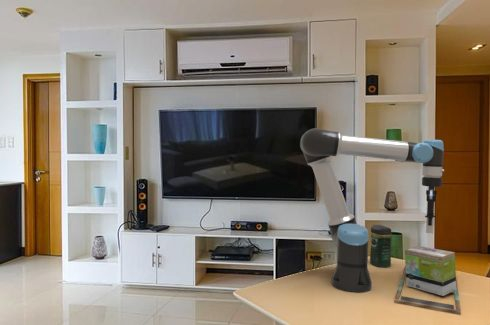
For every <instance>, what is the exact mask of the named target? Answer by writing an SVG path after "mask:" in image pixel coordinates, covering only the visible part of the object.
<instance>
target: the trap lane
mask: <svg viewBox="0 0 490 325" xmlns="http://www.w3.org/2000/svg"><path fill="white" fill-rule="evenodd" d="M405 279H406V265H404V267H403V270H402V274H401V277H400V279H399V283H398V286H397V288H396V293H395V296H394V299H393V303H395V304H400V305H405V306H410V307H411V306H412V307H415V308H416V307H417V308H421V309H427V310H432V311H438V312H444V313H448V314H455V315H461V316H462V310H461V304H460V293H459V288H458V282H457V281H458V280H457V278H456V290H455V291H453V293H454V295H453V296H454V302H455V304H449V303H444V302H438V301H432V300H428V299H427V300H426V299H420V298H415V297H409V296H404V295H403V296H402V295H401V293H402V290H403V287H404V283H405V281H406V280H405ZM400 296H401V297H400ZM454 305H455V306H454Z"/></svg>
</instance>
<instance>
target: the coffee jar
mask: <svg viewBox="0 0 490 325" xmlns="http://www.w3.org/2000/svg"><path fill="white" fill-rule="evenodd" d="M392 236H393V235H392V229H391V228H390V227H387V226H385V225H382V224H372V226H371V227H370V238H371V239H370V240H371V241H370V253H369V263H370V264H371V265H374V266H376V267H382V268H387V267H391V265H392V259H391V257H392V255H391V248H392V247H391V241H392Z"/></svg>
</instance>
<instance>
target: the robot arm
mask: <svg viewBox="0 0 490 325" xmlns="http://www.w3.org/2000/svg"><path fill="white" fill-rule="evenodd" d="M299 147H300V149H301V151H302V153H303V156H304V159H305V162H306V164H307V166H310V167H311V168H312V170H313V174H314V177H315V180H316V183H317V186H318V188H319V191H320V194H321V197H322V200H323V203H324V205H325V208H326V211H327V215H328V218H329V221H328V222H327V226H328V228H329V232H330V237H331V240H332V241H333V244H335V246H336V266H335V268H334V271H333V274H332V277H331V285H332V286H333V287H335V288H336V289H338V290H341V291H345V292H350V293H353V292H354V293H363V292H364V293H365V292H368V291H370V290H372V284H373V283H372V282H373V281H372V278H371V275H370V272H369V268H368V265H369V264H368V263H369V262H368V259H369V258H368V257H369V256H368V255H369V239H370V238H369V237H370V236H369V230H368V228H366V227H365V226H364V225H360V224H358V223H357V220H356V217H355V215H354V214H351V213H350V211H349V208H348V206H347V202H346V200H345V197H344V194H343V192H342V188H341V185H340V182H339V179H338V177H337V176H338V175H337V172H336V171H335V168H334V165H333V161H332V159H333V157H337V156H339V155H345V156H355V157H364V158H373V159H374V158H375V159H380V160H391V161H395V162H401V163H403V162H404V163H418V164H419V163H420V164H422V168H421V169H422V178H421V186H424V187H428V189H426V190H425V196H426V202H427V204H426V205H427V207H426V209H427V210H426V215H424V218H426V222H425V223H426V225H425V233H426V234H434V223H435V221H434V220H435V218H436V215H435V202H436V199H437V198H436V197H437V193H438V192H437V190H435V188H436V187H437V188H442V187H443V178H442V176H443V173H444V172H445V169H443V167H444V165H443V163H444V151H445V149H444V142H443V140H441V139H424V140H423V142H412V141H403V140H392V139H381V138H373V137H364V136H363V137H362V136H356V135H347V134H346V135H343V134H341V133H340V132H339V131H332V130H327V129H323V128H319V127H317V128H315V127H314V128H311V129H309V130H306V132H304V133H303V134H302V135H301V138H300V141H299Z"/></svg>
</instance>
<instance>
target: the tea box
mask: <svg viewBox="0 0 490 325" xmlns="http://www.w3.org/2000/svg"><path fill="white" fill-rule="evenodd" d="M404 255H405V256H404V258H405V259H404V260H405V265H406V276H405V279H406V280H405V281H406V282H405V284H406V287H410V288H414V289H418V290H421V291H424V292H428V293H432V294H435V295H439V296H441V297H444V296H446V295H448V294H450V293H454V291H455V290H456V279H457V275H456V273H457V271H456V252H455V251H449V250H443V249H437V248H432V247H427V246H421V245H417V246H414V247H411V248H409V249H404ZM405 265H404V266H405Z"/></svg>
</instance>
